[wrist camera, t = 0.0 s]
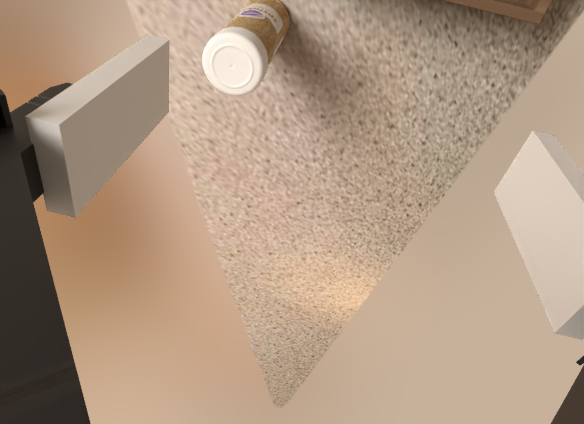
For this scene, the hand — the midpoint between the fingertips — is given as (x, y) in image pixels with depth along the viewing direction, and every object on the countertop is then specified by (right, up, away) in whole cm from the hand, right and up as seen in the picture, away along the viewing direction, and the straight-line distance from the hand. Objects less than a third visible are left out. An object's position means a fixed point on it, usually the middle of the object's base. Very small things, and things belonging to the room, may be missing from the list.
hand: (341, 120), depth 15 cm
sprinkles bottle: (-4, +15, +25) cm, 30 cm away
